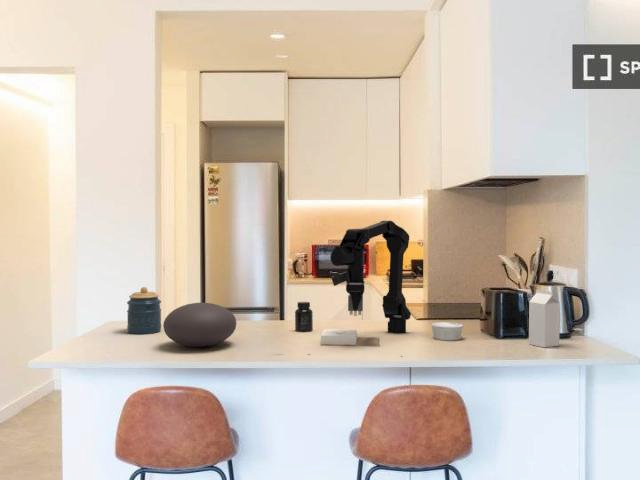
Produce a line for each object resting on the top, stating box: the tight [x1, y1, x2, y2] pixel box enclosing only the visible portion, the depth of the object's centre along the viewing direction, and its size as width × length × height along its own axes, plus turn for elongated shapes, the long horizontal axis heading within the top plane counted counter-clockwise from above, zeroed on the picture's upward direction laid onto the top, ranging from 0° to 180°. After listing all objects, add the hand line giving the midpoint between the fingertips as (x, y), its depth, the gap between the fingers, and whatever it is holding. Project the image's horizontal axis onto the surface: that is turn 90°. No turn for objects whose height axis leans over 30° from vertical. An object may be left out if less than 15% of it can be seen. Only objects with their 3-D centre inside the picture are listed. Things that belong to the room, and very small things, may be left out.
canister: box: [126, 286, 162, 335], centre depth 236 cm, size 13×13×18 cm
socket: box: [320, 329, 358, 345], centre depth 211 cm, size 12×12×3 cm
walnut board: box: [319, 336, 381, 348], centre depth 211 cm, size 20×16×1 cm
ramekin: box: [431, 321, 464, 342], centre depth 222 cm, size 11×11×5 cm
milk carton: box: [528, 289, 561, 348], centre depth 209 cm, size 7×7×19 cm
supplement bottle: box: [294, 301, 314, 333], centre depth 233 cm, size 7×7×12 cm
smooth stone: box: [162, 302, 237, 348], centre depth 209 cm, size 25×25×15 cm
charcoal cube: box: [347, 294, 364, 317], centre depth 210 cm, size 5×5×7 cm
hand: (355, 309), depth 210 cm, fingers closed on charcoal cube, 5 cm apart
